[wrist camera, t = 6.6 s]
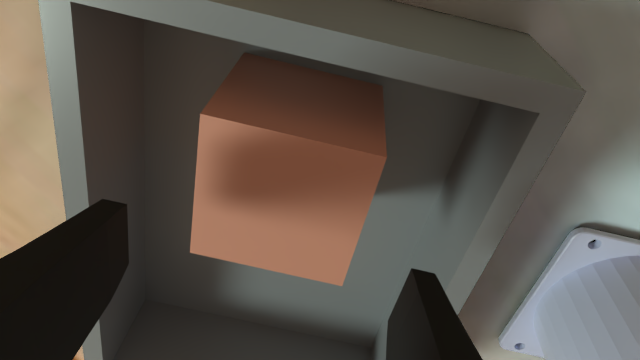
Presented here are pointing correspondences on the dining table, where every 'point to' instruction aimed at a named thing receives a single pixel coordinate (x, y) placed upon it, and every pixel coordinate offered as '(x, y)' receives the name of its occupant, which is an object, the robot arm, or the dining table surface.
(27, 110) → the dining table surface
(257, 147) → the cube
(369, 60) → the tote
